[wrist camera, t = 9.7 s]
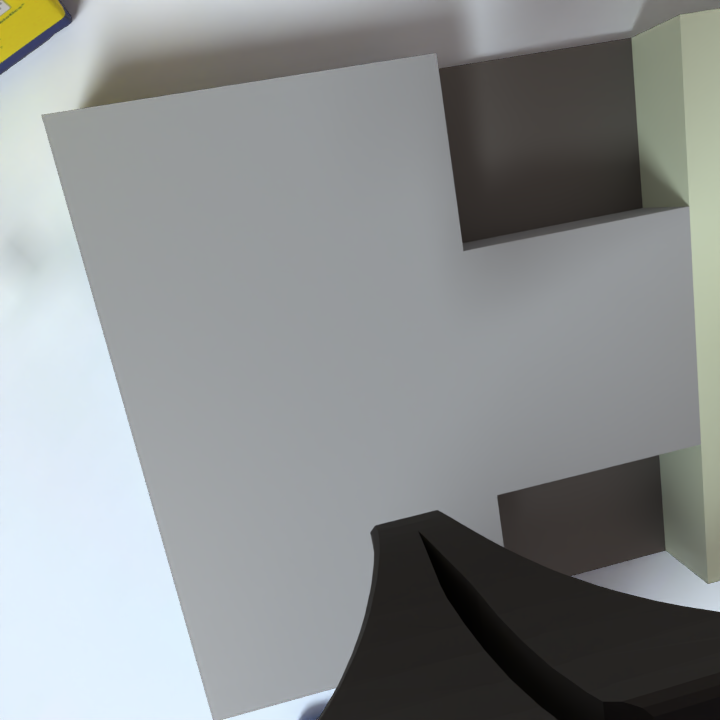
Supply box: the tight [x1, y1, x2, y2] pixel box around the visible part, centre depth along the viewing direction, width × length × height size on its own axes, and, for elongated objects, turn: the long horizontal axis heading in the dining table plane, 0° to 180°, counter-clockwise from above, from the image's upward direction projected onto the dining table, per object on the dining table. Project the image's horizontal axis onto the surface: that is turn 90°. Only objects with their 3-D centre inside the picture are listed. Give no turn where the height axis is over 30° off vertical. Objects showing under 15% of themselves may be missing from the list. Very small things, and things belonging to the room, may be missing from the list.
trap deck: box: [42, 8, 720, 720], centre depth 19 cm, size 18×26×4 cm
